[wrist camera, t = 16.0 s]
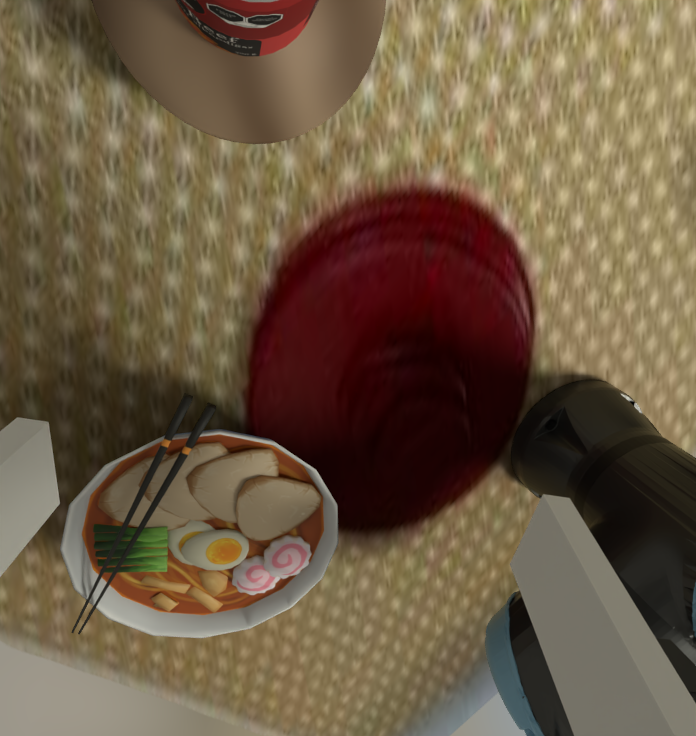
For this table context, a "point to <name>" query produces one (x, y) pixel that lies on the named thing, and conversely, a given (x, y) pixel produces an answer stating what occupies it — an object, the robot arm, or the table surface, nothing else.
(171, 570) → the ramen bowl
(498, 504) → the table surface
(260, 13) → the canned food
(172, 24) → the cake stand
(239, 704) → the table surface
